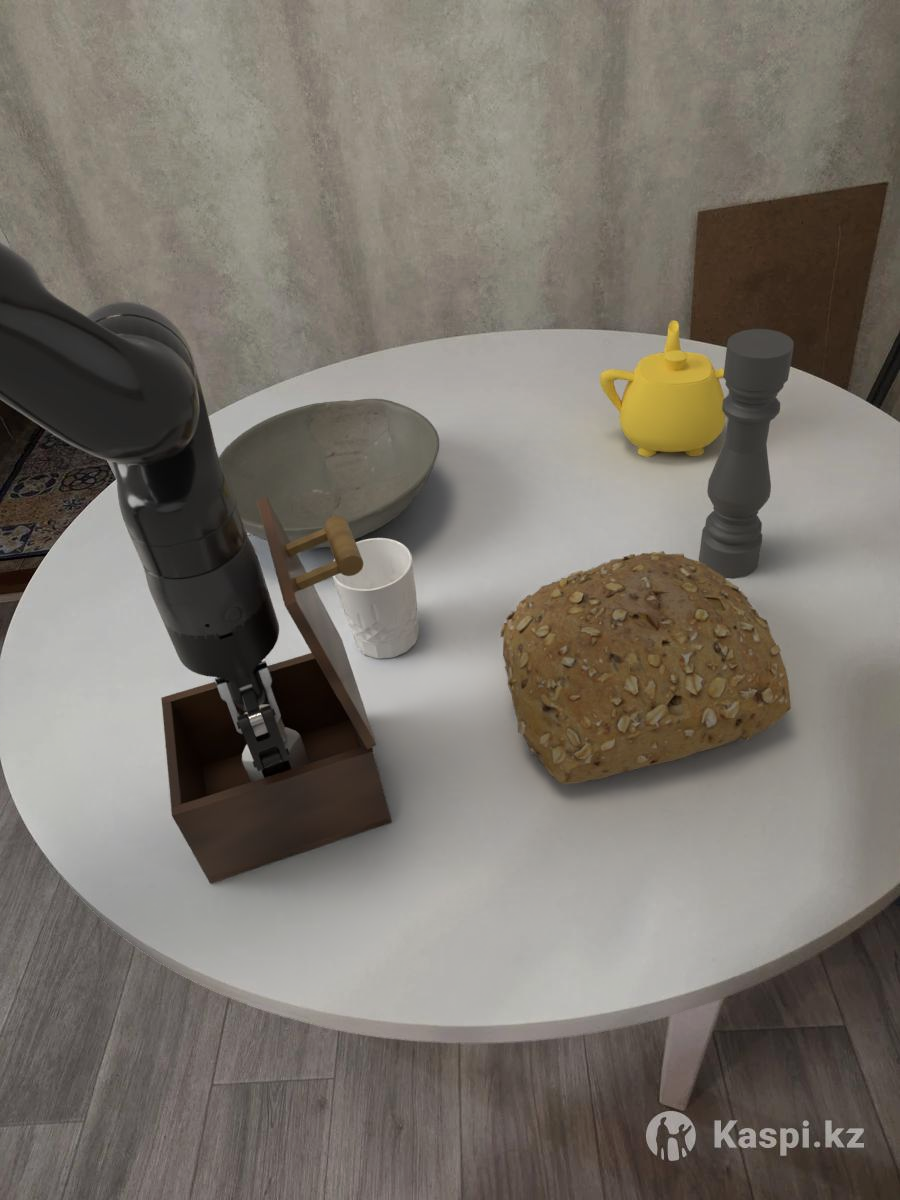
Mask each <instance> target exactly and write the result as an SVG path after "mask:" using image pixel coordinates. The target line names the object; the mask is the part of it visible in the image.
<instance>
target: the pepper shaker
mask: <svg viewBox="0 0 900 1200" xmlns="http://www.w3.org/2000/svg"><path fill="white" fill-rule="evenodd" d="M268 705H269V704H262V705H260V706H259V707H260V708H263V707H265V706H268ZM246 713H247V712H246ZM246 713H245V714H246ZM277 726H278V728H279V731H280V734H281V737H284V739H285V742H286V743H284V745H285V748H286V749H287V748H288V751H289V754H290V755H288V757H289V763H290V766H291V769H294V768H297V767H300V766H303V765H306V764H310V762H309V759H308V756H307V753H306V750H305V747H304V745H303V742H302V739H301V736H300V734H299V733H297V732H296V731H295V730H292V729H289V728H286V727H284V724H283V722H282V720H281V717H280V719H279V720H278V722H277ZM252 761H254V760H253V758H252V756H251V753H250V751H249V748H248V746H247V745H246V747H245V749H244V751H243V753H242V762H243V764H244V767H245V769H246V771H247V773H248V776H249V778H250V780H251V782H253V781H256V780H259V779H263V778H264V776H263V774H262V771H259V772H258V770H257V768H254V765H253V762H252Z"/></svg>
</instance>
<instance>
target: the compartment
mask: <svg viewBox="0 0 900 1200" xmlns="http://www.w3.org/2000/svg"><path fill="white" fill-rule="evenodd" d="M267 666H268V669H269V672H270V675H271V678H272V684H271V688H272V691H273V694H274V697H275V700H276V702H277V705H278V708H279V711H280V714H281V720H282V722H283V724H284V727H286V728H289V729H292V730H295V731H296V732H297V733H299V734H300V736H301V739H302V742H303V745H304V747H305V750H306V753H307V756H308V759H309V762H310V764H306V765H303V766H300V767H297V768H294V769H291V770H288V771H284V772H281V773H278V774H275V775H272V776H269V777H266V778H263V779H259V780H256V781H253V782H251V780H250V778H249V776H248V773H247V771H246V769H245V767H244V764H243V762H242V753H243V751H244V749H245V747H246V745H247V743H246V741H245V738H244V736H243V734H241V733H239V732H238V731H237V730H236V727H235V724H234V722H233V719H232V716H231V713H230V711H229V708H228V705H227V703H226V701H224V700H223V699H222V698H221V696H220V693H219V691H218V688H217V685H216V682H215V681H213V682H209V683H206V684H202V685H198V686H196V687H192V688H189V689H185V690H182V691H179V692H175V693H172V694H169V695H166V696H165V695H164V696H162V697H161V698H160V699H161V700H160V701H161V709H162V719H163V733H164V742H165V754H166V763H167V765H166V767H167V776H168V778H167V779H168V787H169V788H168V789H169V799H170V807H171V808H170V811H171V817H172V820H174V822H175V824H176V826H177V828H178V829H179V831H180V834H181V835H182V837H183V839H184V840H185V842H186V843H187V846H188V847H189V849H190V851H191V852H192V854H193V856H194V858H195V860H196V861H197V863H198V865H199V867H200V869H201V870H202V872H203V874H204V875H205V877H206V880H207V881H208V883H209V884H212V883H215V882H218V881H219V882H220V881H221V880H224V879H227V878H228V879H229V878H231V877H233V876H237V875H240V874H242V873H243V874H244V873H246V872H248V871H251V870H254V869H257V868H260V867H263V866H266V865H269V864H272V863H275V862H278V861H281V860H284V859H287V858H290V857H293V856H296V855H299V854H302V853H305V852H308V851H311V850H314V849H317V848H320V847H322V846H325V845H328V844H332V843H335V842H337V841H341V840H345V839H347V838H350V837H353V836H356V835H359V834H361V833H365V832H367V831H371V830H373V829H376V828H380V827H382V826H385V825H388V824H391V823H392V822H393V821H392V817H391V813H390V809H389V807H388V806H389V805H388V802H387V798H386V795H385V791H384V787H383V783H382V779H381V776H380V775H381V774H380V772H379V768H378V764H377V761H376V757H375V753H374V750H373V747H372V748H369V749H367V748H366V746H365V744H364V743H363V741H362V739H361V737H360V736H359V734H358V732H357V730H356V729H355V727H354V725H353V723H352V722H351V720H350V718H349V717H348V715H347V713H346V711H345V710H344V708H343V706H342V704H341V703H340V701H339V699H338V697H337V696H336V694H335V692H334V690H333V689H332V687H331V685H330V683H329V682H328V680H327V678H326V676H325V675H324V673H323V671H322V670H321V668H320V666H319V664H318V663H317V661H316V659H315V657H314V656H313V654H312V652H310V653H306V654H302V655H298V656H297V657H293V658H290V659H287V660H283V661H281V662H280V661H279V662H275V663H272V664H269V665H267ZM261 683H262V681H261ZM262 686H263V683H262ZM263 689H264V686H263ZM264 691H265V689H264ZM265 694H266V692H265ZM266 697H267V695H266ZM267 700H268V697H267ZM268 703H269V700H268ZM235 705H236V703H235ZM269 705H270V703H269ZM236 707H237V710H238V713H239V715H240V716H241V715H243V714H244V712H243V710H241V709H240V708H239V707H238V706H237V705H236Z"/></svg>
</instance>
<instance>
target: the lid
mask: <svg viewBox="0 0 900 1200" xmlns="http://www.w3.org/2000/svg"><path fill="white" fill-rule="evenodd" d="M257 503H258V507H259V511H260V515H261V518H262V522H263V526H264V530H265V533H266V537H267V540H266V541H267V544H268V548H269V551H270V556H271V559H272V563H273V566H274V571H275V574H276V578H277V582H278V585H279V590H280V593H281V596H282V597H281V598H282V601H283V604H284V607H285V609H286V611H287V612H288V614H289V615H290V617H291V619H292V620H293V622H294V624H295V627H296V628H297V630H298V631H299V633H300V635H301V636H302V638H303V640H304V642H305V644H306V645H307V646H308V649H309V650H310V653H312V654H313V656H314V657H315V659H316V661H317V663H318V664H319V666H320V668H321V670H322V671H323V673H324V675H325V676H326V678H327V680H328V682H329V683H330V685H331V687H332V689H333V690H334V692H335V694H336V696H337V697H338V699H339V701H340V703H341V704H342V706H343V708H344V710H345V711H346V713H347V715H348V717H349V718H350V720H351V722H352V723H353V725H354V727H355V729H356V730H357V732H358V734H359V736H360V737H361V739H362V741H363V743H364V744H365V746H366V748H367V749H369V748H372V749H373V747H376V746H377V741H376V739H375V736H374V733H373V730H372V727H371V722H370V720H369V717H368V713H367V711H366V708H365V705H364V702H363V699H362V695H361V693H360V690H359V688H358V683H357V681H356V678H355V675H354V671H353V669H352V666H351V663H350V659H349V657H348V654H347V651H346V647H345V644H344V641H343V638H342V637H341V635H340V632H339V631H338V629H337V627H336V626H335V623H334V622H333V620H332V618H331V615H330V614H329V612H328V610H327V609H326V607H325V604H324V602H323V600H322V598H321V596H320V595H319V593H318V591H317V589H316V588H315V586H314V585H315V584H318V583H321V582H323V581H326V580H328V579H330V578H333V576H335V575H337V574H339V573H341V574H343V575H345V576H353V575H356V574H357V573H359V572H360V571H361V570H362V568H363V560H362V557H361V555H360V552H359V550H358V547H357V545H356V542H357V541H356V539H355V540H354V537H353V535H352V532H351V530H350V527H349V524H348V522H347V520H346V519H345V518H343V517H341V516H334V517H331V518H329V519H328V520H327V521H326V522H325V524H324V528H323V529H321V530H319V531H316V532H314V533H312V534H309V535H307V536H305V537H302V538H300V539H297V540H295V541H293V542H290V540H289V538H288V536H287V534H286V532H285V531H284V529H283V527H282V525H281V523H280V521H279V519H278V517H277V515H276V514H275V512H274V510H273V508H272V506H271V504H270V502H269V500H268V498H267V497H264V498H262V499H260V500H257ZM326 541H328V542H329V545H330V547H329V549H330V551H331V553H332V556H333V558H334V559H335V561H334V559H333V561H330V562H328V563H326V564H324V565H321V566H319V567H316V568H314V569H312V570H309V571H306V568H305V567H304V565H303V563H302V561H301V559H300V557H299V555H298V554H300V553H302V552H305V551H308V550H309V549H313V548H312V547H314V546H317V545H319V544H321V543H324V542H326Z"/></svg>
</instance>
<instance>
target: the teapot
mask: <svg viewBox="0 0 900 1200" xmlns="http://www.w3.org/2000/svg"><path fill="white" fill-rule="evenodd" d="M723 375H724V368H718V369H715V368H714V366H713V364H712V362H711V360H710V359H709V358H708V357H707V356H706V355H704V354H701V353H697V352H691V351H683V350H681V342H680V324H679V322H678V321H677V320H674V319H673V320H671V321H670V322H669V324H668V328H667V335H666V341H665V346H664V349H663V352H656V353H652V354H648V355H646V356H644V357H642V358H641V359H640V360H639V362H638V363H637V365H636V366H635V368H634V369H633V371H630V370H626V369H625V370H624V369H614V368H611V369H609V368H608V369H605V370H603V371H602V372H601V374H600V375H599V383H600V386H601V389H602V391H603V392H604V394H605V395H606V397H607V398H608V400H609V401H610V402H611V404H612V405H613V406H614V407H615V408H616V410H618V412H619V418H618V419H619V425H620V427H621V430H622V432H623V435H624V436H625V437H626V438H627V440H629V442H630V443H631V444H632V445H634V446H636V447H637V448H638V449H637V453H638V455H640V456H642V457H646V458H649V457H653V456H655V455H656V454H657V452H666V453H675V452H676V453H677V452H678V453H679V452H684V453H685V455H687V456H689V457H700V456H702V455H703V454H704V452H705V450H704V448H705V447H707V446H709V445H711V444H712V443H713V442H714V441H715V440H717V438H718V437H719V436H720V435H721V433H722V432H723V430H724V426H725V420H726V415H725V414H724V412H723V411H722V405H723V400H724V399H725V396H724V392H723V387H722V384H721V382H720V379H724V377H723ZM617 380H621V381H622V380H623V381H627V383H626V386H625V388H624V391H623V394H622V398H621V397H620V396H619V394H618V393H617V389H616V386H615V384H614V382H615V381H617ZM728 395H729V393H728V394H727V396H728Z"/></svg>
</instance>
